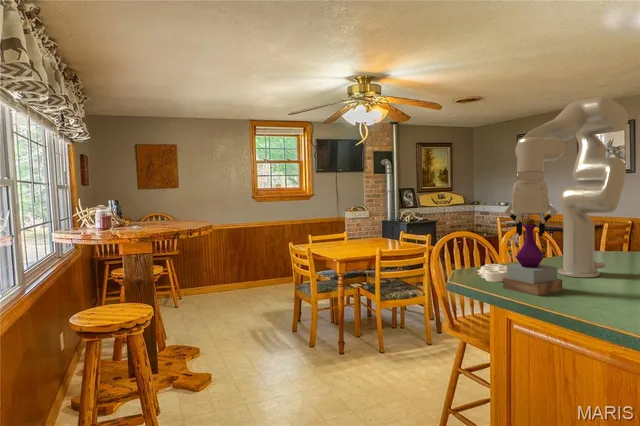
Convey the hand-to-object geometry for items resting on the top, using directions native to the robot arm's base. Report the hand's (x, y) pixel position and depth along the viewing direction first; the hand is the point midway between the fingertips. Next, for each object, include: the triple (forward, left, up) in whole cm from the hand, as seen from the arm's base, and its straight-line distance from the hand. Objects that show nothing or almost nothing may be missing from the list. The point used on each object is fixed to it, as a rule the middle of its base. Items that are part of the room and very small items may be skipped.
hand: (530, 235), depth 137 cm
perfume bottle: (+1, 0, -10) cm, 10 cm away
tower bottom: (0, +1, -18) cm, 18 cm away
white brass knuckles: (-1, -18, -18) cm, 26 cm away
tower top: (+1, +1, -14) cm, 14 cm away
